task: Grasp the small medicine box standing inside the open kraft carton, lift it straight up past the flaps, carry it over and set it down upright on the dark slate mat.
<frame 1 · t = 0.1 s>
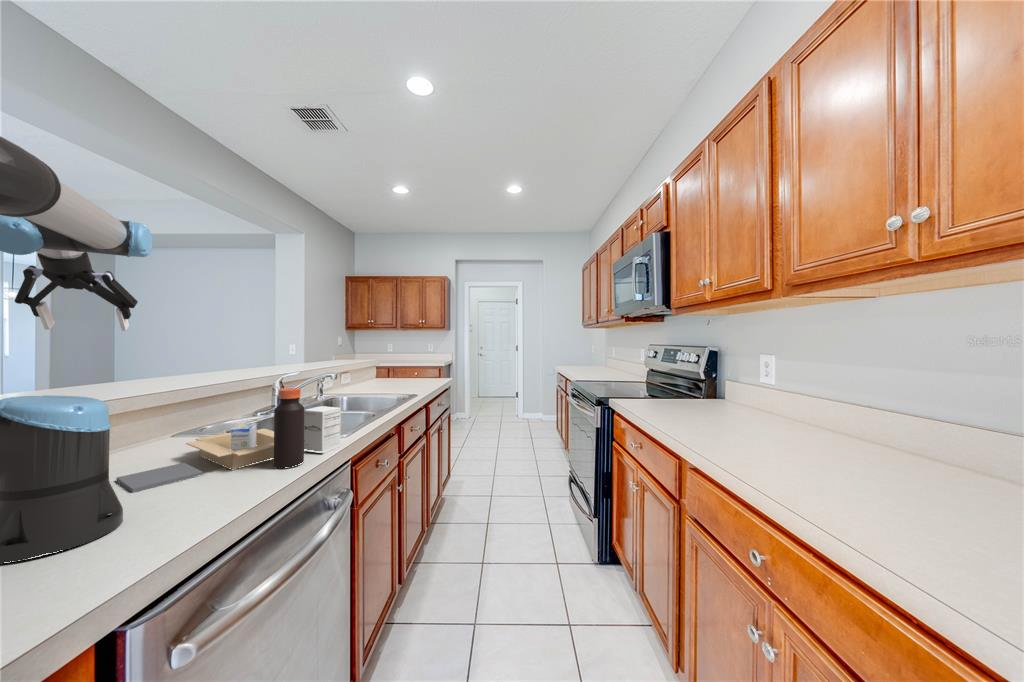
hand: (89, 327, 94), 36 cm above the countertop, tool tilted 35°, fingers open, 13 cm apart
carton: (244, 456, 102), on the countertop
medicine box: (243, 456, 102), resting in carton
supplement box: (321, 450, 108), on the countertop
mat: (160, 477, 85), on the countertop
bottle: (289, 465, 95), on the countertop
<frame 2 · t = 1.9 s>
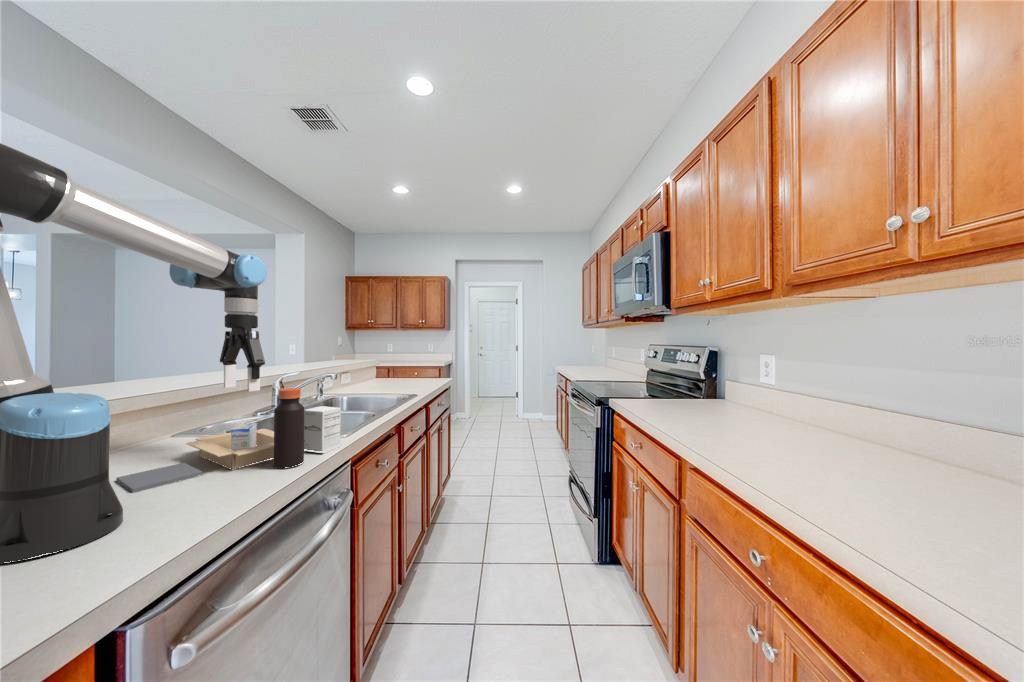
hand: (241, 389, 102), 19 cm above the countertop, tool pointing down, fingers open, 13 cm apart
nothing on the countertop moved.
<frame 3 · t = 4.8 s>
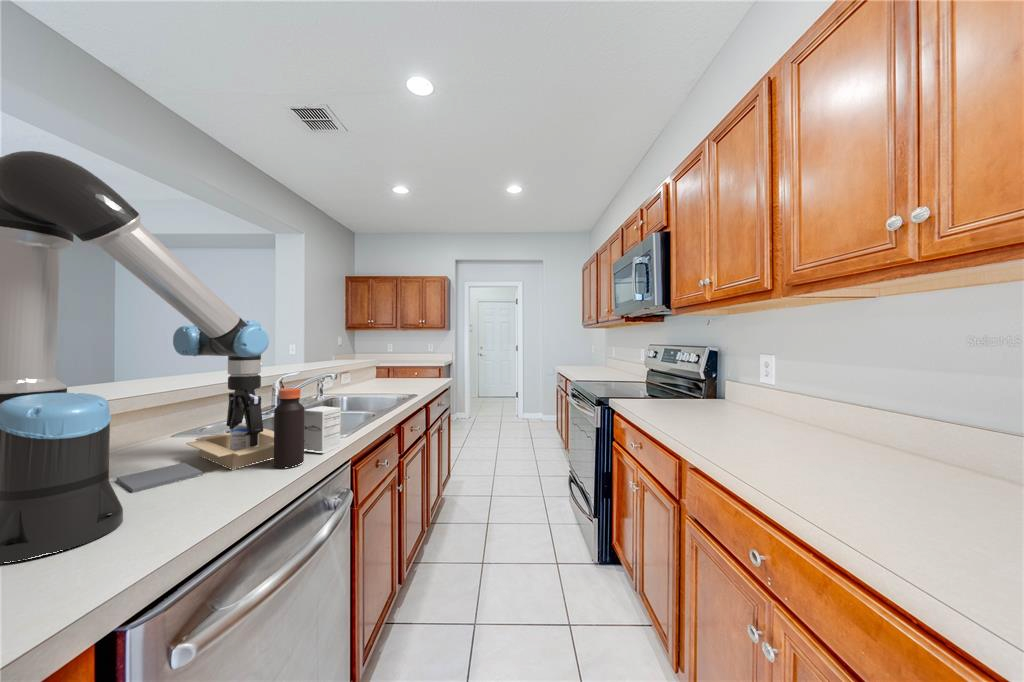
hand: (244, 454, 102), 0 cm above the countertop, tool pointing down, fingers closed on medicine box, 9 cm apart
medicine box: (244, 456, 102), resting in carton, touching gripper
everything else where it was.
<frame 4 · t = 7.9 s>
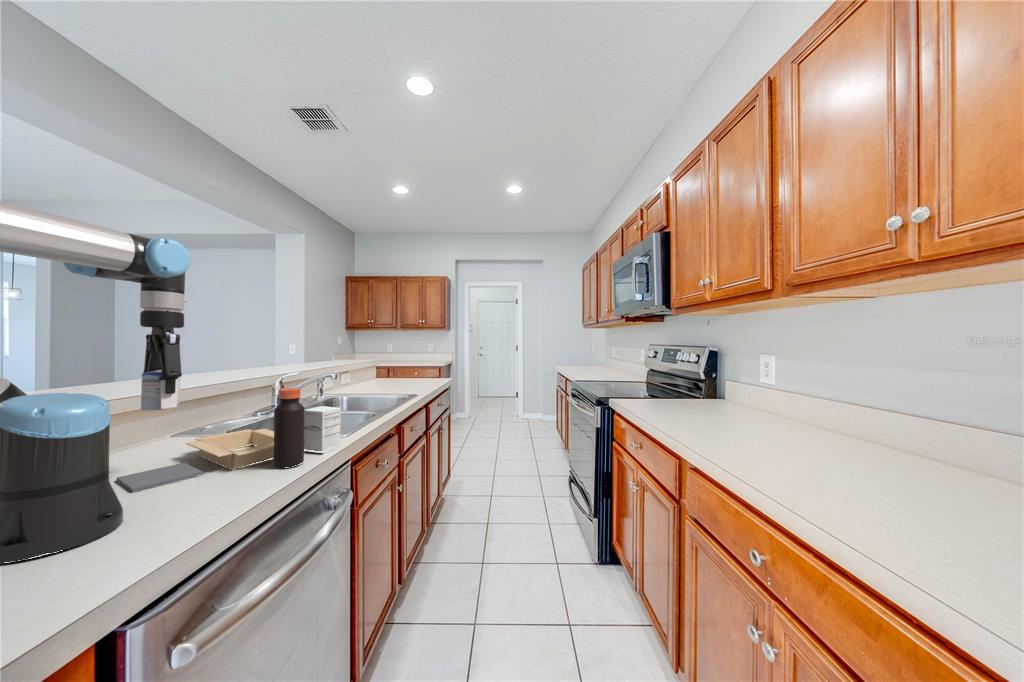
hand: (161, 405, 85), 17 cm above the countertop, tool pointing down, fingers closed on medicine box, 9 cm apart
medicine box: (161, 408, 85), point 17 cm above the countertop, touching gripper
everything else where it was.
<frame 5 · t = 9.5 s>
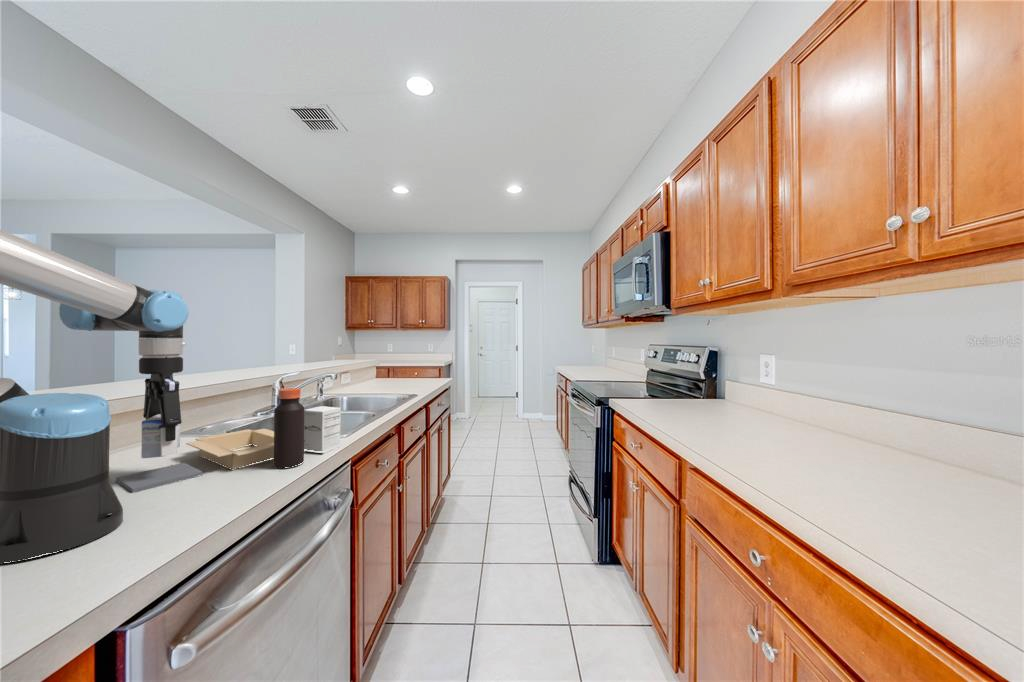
hand: (161, 450, 86), 6 cm above the countertop, tool pointing down, fingers closed on medicine box, 9 cm apart
medicine box: (161, 453, 86), point 6 cm above the countertop, touching gripper
everything else where it was.
when the fingers open (2 cm above the countertop, at t = 11.1 s): medicine box drops 1 cm, resting on mat.
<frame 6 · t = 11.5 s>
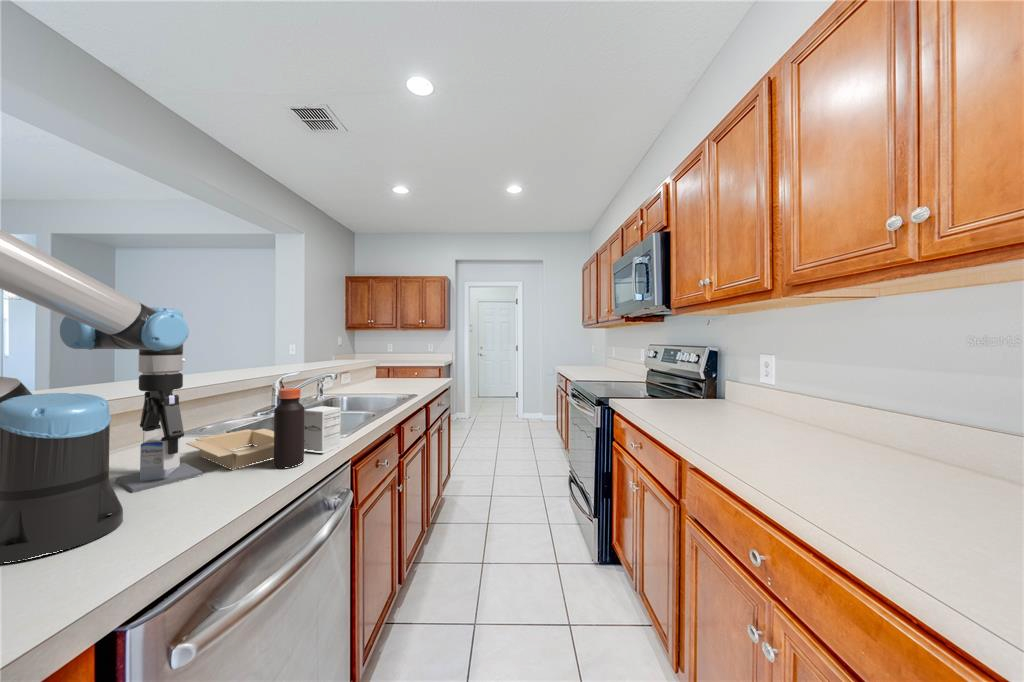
hand: (160, 462, 85), 4 cm above the countertop, tool pointing down, fingers open, 13 cm apart
medicine box: (160, 475, 85), point 1 cm above the countertop, touching mat
everything else where it was.
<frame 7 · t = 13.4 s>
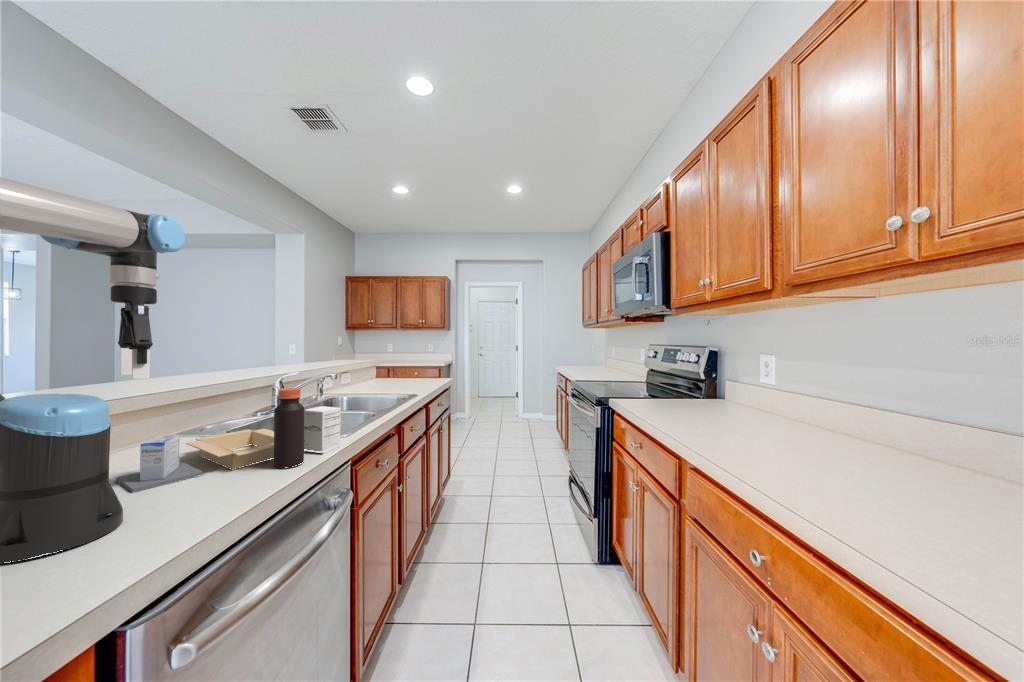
hand: (134, 376, 85), 24 cm above the countertop, tool pointing down, fingers open, 13 cm apart
nothing on the countertop moved.
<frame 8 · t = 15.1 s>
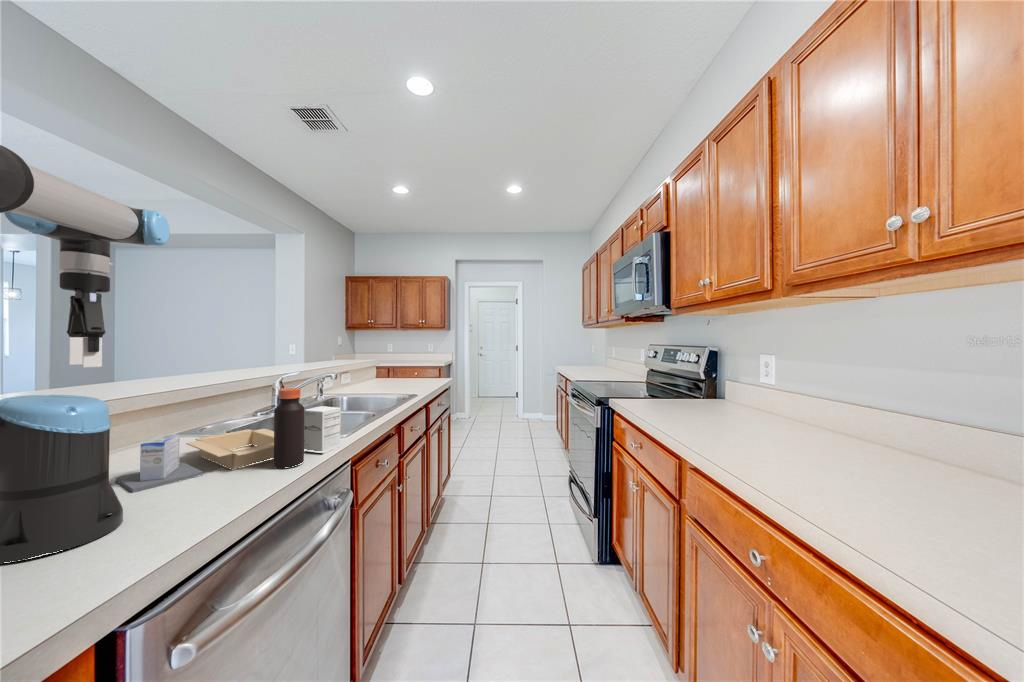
hand: (84, 365, 83), 27 cm above the countertop, tool pointing down, fingers open, 13 cm apart
nothing on the countertop moved.
at the end: medicine box inside the target area on the mat (0.1 cm from its centre), point 0.6 cm above the mat's base; medicine box tilted 0°; the gripper is holding nothing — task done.
